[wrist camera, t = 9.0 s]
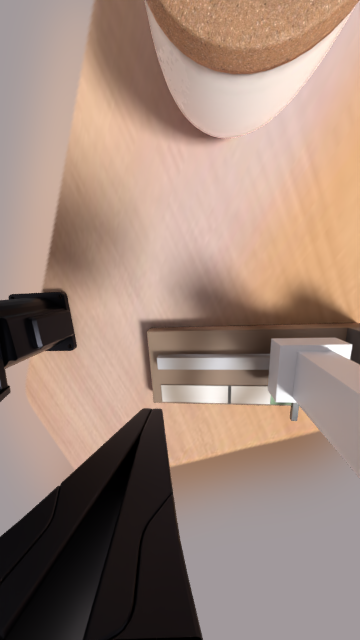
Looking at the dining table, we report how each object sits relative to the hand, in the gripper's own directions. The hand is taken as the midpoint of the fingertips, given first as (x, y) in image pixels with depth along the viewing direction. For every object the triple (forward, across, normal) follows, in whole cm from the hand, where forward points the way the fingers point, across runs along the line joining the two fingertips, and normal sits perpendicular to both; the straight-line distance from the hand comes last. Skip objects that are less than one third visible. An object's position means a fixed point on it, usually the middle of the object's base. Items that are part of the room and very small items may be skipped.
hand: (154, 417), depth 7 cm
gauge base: (+11, -7, +3) cm, 13 cm away
